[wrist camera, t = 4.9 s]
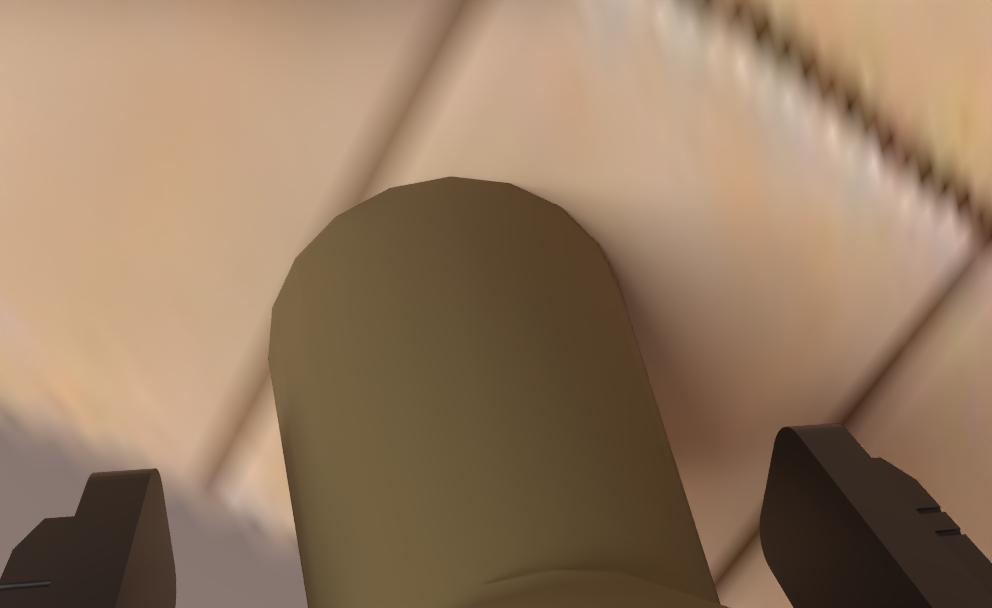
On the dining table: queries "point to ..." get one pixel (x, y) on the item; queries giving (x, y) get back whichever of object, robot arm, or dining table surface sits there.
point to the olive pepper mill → (474, 414)
